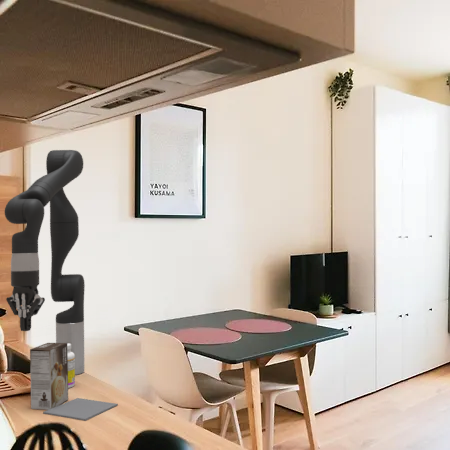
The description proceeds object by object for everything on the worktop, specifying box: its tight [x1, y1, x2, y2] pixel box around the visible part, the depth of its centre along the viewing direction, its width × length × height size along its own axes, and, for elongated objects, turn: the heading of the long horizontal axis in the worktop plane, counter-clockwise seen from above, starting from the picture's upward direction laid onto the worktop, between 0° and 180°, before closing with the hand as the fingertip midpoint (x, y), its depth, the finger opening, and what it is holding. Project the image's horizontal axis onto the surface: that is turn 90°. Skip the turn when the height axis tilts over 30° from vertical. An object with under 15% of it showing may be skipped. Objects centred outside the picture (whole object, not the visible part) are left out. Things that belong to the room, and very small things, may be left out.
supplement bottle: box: [67, 343, 76, 389], centre depth 162 cm, size 7×7×13 cm
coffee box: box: [29, 342, 69, 411], centre depth 145 cm, size 9×6×16 cm
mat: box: [42, 397, 119, 422], centre depth 140 cm, size 14×13×1 cm
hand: (25, 330), depth 149 cm, fingers closed
